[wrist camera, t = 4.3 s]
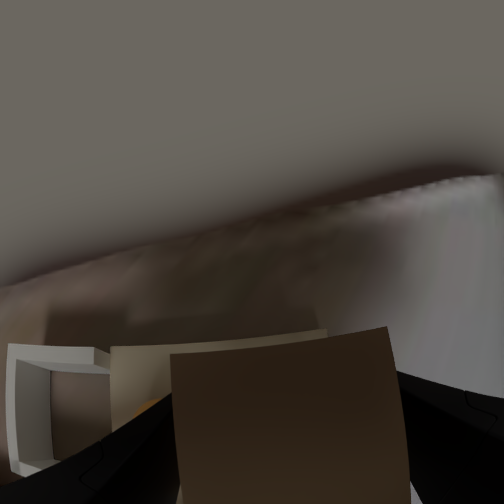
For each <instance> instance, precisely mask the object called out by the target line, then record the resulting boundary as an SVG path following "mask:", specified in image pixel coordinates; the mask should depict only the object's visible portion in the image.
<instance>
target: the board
mask: <svg viewBox="0 0 504 504" xmlns="http://www.w3.org/2000/svg"><path fill="white" fill-rule="evenodd" d="M327 337H328V333H327V328H323V329H317V330H310V331H303V332H296V333H288V334H281V335H273V336H264V337H255V338H246V339H236V340H226V341H214V342H201V343H187V344H169V345H146V346H110V401H111V422H112V432H114V431H115V430H117V429H118V428H120V427H121V426H123V425H124V424H126V423H127V422H129V421H130V420H132V419H133V416H134V414H135V413H136V411H137V410H138V409H139V407H141V406H142V405H143V404H144V403H146V402H148V401H150V400H154V399H159V398H164V397H165V396H167V395H168V394H170V393H171V392H172V390H171V371H170V354H178V353H195V352H210V351H222V350H233V349H244V348H253V347H262V346H271V345H279V344H287V343H294V342H301V341H308V340H315V339H321V338H327ZM176 504H183V498H182V491H181V484H180V488H179V493H178V497H177V502H176Z"/></svg>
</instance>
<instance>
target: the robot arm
mask: <svg viewBox="0 0 504 504" xmlns="http://www.w3.org/2000/svg"><path fill="white" fill-rule="evenodd" d="M396 372H397V378H398V384H399V389H400V396H401V402H402V409H403V416H404V423H405V431H406V440H407V449H408V460H409V473H410V481H411V483H412V485H413V487H414V489H415V490H416V492H417V494H418V496H419V498H420V500H421V502H422V503H423V504H504V398H499V397H493V396H487V395H483V394H478V393H474V392H470V391H467V390H466V391H464V390H461V389H457V388H454V387H450V386H446V385H443V384H439V383H436V382H432V381H429V380H426V379H422V378H419V377H415V376H412V375H409V374H406V373H402V372H399V371H396ZM100 441H101V442H100ZM100 441H97V442H96V443H94V444H92V445H91V446H89V447H87V448H86V449H84V450H82V451H80V452H79V453H77V454H75V455H73V456H71V457H69V458H67V459H65V460H63V461H61V462H59V463H56V464H54V465H52V466H50V467H48V468H45V469H43V470H41V471H38V472H36V473H34V474H31V475H29V476H27V477H24V478H22V479H19V480H17V481H14V482H12V483H9V484H7V485H4V486H1V487H0V504H176V502H177V497H178V493H179V488H180V476H179V468H178V460H177V451H176V441H175V430H174V419H173V406H172V392H171V393H170V394H168V395H167V396H165V397H164V398H162V399H161V400H160V401H158V402H157V403H155V404H154V405H152V406H151V407H150V408H148V409H147V410H145V411H144V412H142V413H141V414H139V415H138V416H136V417H135V418H133V419H132V420H130V421H129V422H127V423H126V424H124V425H123V426H121V427H120V428H118V429H117V430H115V431H114V432H112V433H110V434H109V435H107V436H106V437H104V438H103V439H101V440H100Z"/></svg>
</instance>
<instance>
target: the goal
mask: <svg viewBox="0 0 504 504" xmlns="http://www.w3.org/2000/svg"><path fill="white" fill-rule="evenodd" d="M50 370H51V371H63V372H77V373H95V374H110V354H109V353H106V352H104V351H102V350H100V349H97V348H95V347H66V346H40V345H23V344H10V343H8V353H7V368H6V425H7V439H8V450H9V459H10V467H11V472H14V473H16V474H19V475H21V476H24V477H27V476H29V475H31V474H34V473H36V472H38V471H41V470H43V469H45V468H48V467H50V466H52V465H54V464H56V463H59V462H61V461H59V460H55V459H54V455H53V445H52V432H51V412H50Z"/></svg>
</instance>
